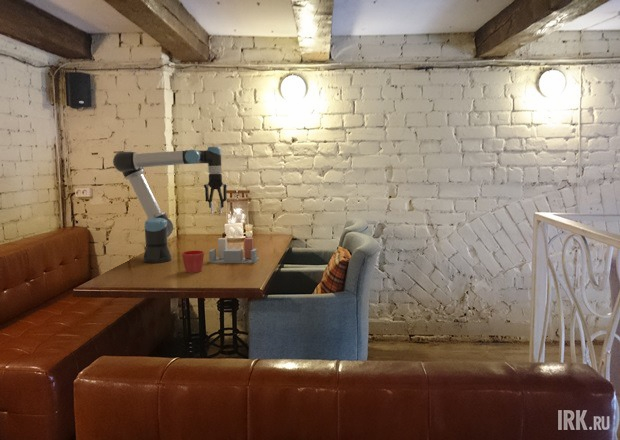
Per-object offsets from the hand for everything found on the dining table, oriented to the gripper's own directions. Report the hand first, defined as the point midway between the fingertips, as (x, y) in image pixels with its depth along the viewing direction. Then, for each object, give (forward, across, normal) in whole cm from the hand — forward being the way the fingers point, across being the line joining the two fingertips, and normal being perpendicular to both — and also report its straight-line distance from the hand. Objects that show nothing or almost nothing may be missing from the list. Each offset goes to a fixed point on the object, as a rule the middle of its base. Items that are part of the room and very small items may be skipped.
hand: (216, 213), depth 296 cm
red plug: (+25, +22, -15) cm, 36 cm away
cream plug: (+25, +7, -15) cm, 30 cm away
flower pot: (+25, 0, -46) cm, 52 cm away
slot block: (+25, +14, -19) cm, 34 cm away
